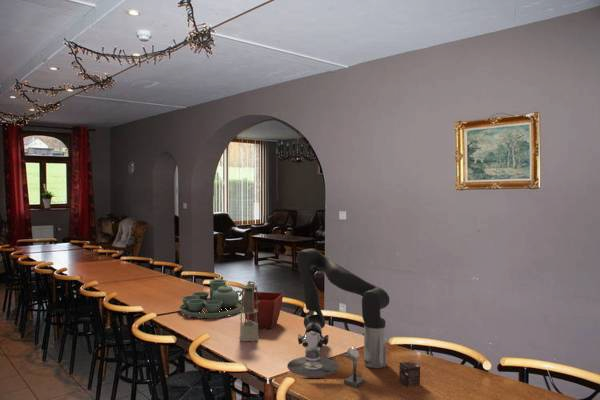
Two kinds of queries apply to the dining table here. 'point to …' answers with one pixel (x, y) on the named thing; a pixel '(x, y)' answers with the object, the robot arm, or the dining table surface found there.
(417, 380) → the box
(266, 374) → the dining table surface
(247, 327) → the lamp
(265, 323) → the plant pot
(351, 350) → the stand
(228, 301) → the tea set
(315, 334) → the cover
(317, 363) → the turntable
